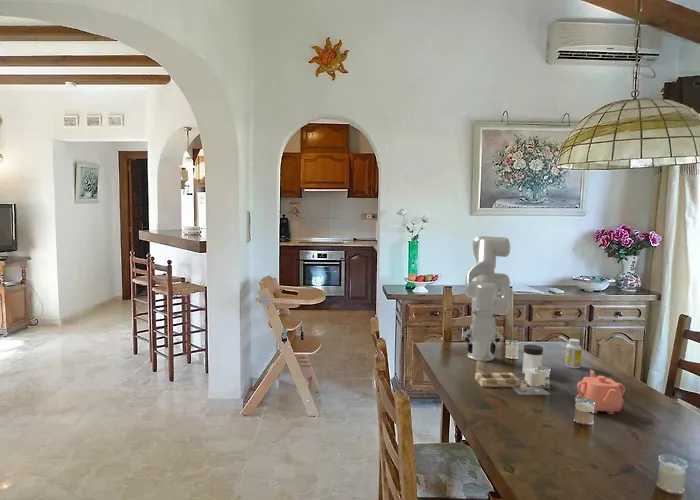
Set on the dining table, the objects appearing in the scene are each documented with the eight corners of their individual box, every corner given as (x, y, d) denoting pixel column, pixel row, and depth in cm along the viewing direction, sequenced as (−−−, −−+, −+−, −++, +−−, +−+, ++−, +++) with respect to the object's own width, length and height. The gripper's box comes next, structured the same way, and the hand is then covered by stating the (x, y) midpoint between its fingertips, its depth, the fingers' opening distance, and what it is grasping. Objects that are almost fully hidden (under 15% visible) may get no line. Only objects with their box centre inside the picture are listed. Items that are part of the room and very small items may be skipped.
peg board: (474, 379, 218) (475, 372, 218) (511, 379, 220) (511, 372, 219) (482, 387, 209) (482, 380, 209) (519, 387, 211) (520, 380, 210)
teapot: (588, 398, 201) (590, 367, 200) (632, 412, 188) (634, 379, 187) (567, 406, 192) (570, 373, 191) (612, 422, 179) (615, 387, 178)
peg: (474, 376, 223) (475, 358, 222) (482, 376, 223) (483, 358, 222) (477, 378, 219) (478, 360, 218) (484, 378, 220) (485, 360, 219)
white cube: (524, 381, 218) (525, 368, 217) (538, 381, 218) (539, 368, 218) (531, 387, 211) (532, 373, 211) (545, 387, 212) (546, 373, 211)
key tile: (510, 387, 210) (511, 377, 209) (541, 387, 211) (542, 377, 211) (518, 395, 202) (519, 384, 202) (550, 395, 203) (551, 384, 203)
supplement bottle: (581, 366, 241) (583, 339, 240) (579, 369, 236) (581, 342, 234) (566, 363, 245) (568, 337, 244) (563, 367, 239) (565, 340, 238)
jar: (545, 374, 228) (547, 347, 227) (535, 377, 223) (537, 350, 222) (527, 368, 235) (529, 343, 234) (517, 371, 230) (519, 345, 229)
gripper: (466, 314, 214) (464, 354, 215) (506, 315, 215) (504, 355, 216) (461, 311, 221) (459, 350, 222) (499, 312, 222) (497, 350, 224)
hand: (481, 352), depth 219 cm, fingers open, 9 cm apart
